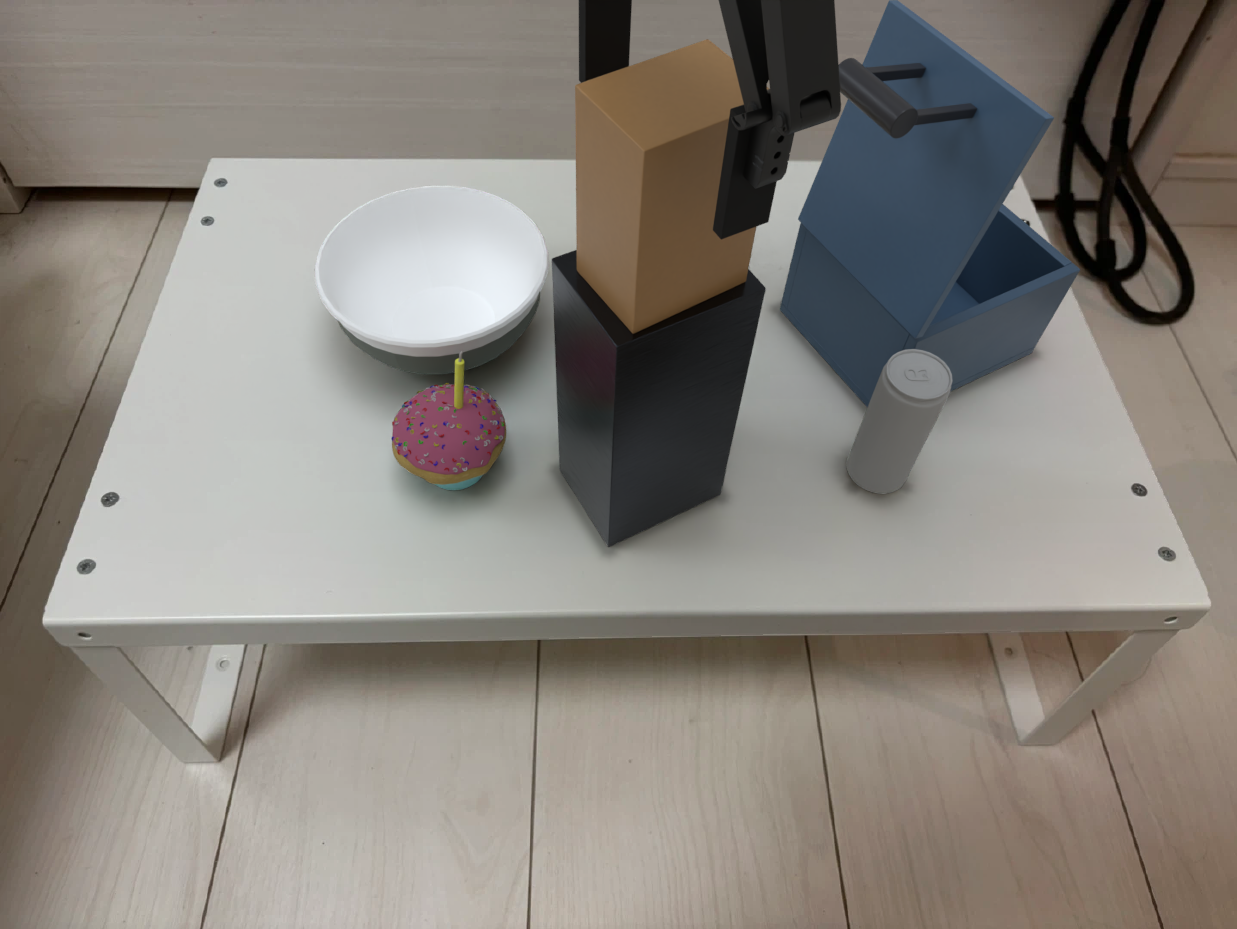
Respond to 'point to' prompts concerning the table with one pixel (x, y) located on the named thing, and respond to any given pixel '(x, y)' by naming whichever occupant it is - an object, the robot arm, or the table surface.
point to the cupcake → (449, 433)
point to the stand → (647, 401)
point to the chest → (965, 323)
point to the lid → (918, 164)
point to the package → (656, 184)
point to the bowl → (433, 277)
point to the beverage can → (898, 420)
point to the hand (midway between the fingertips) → (667, 147)
